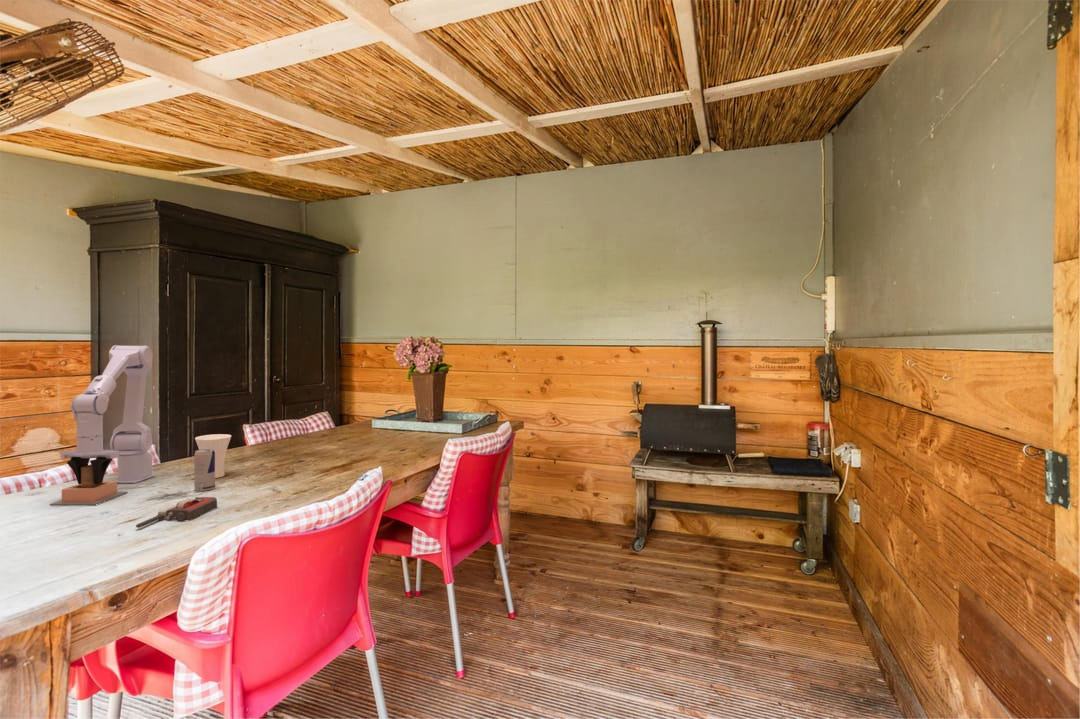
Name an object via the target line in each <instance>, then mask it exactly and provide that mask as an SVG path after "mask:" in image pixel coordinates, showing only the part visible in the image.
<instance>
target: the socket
mask: <svg viewBox="0 0 1080 719" xmlns="http://www.w3.org/2000/svg"><path fill="white" fill-rule="evenodd" d="M126 493H127V494H128V491H118V483H117V481H114V480H111V481H109V480H108V481H105V480H103V482H102V483H100V486H97V487H94V488H81V484H78V483H77V484H75V485H72V486H71V485H70V486H68V487H66V488H63V489H61V499H60V500H57V501H55V502H52V503H49V506H50V505H88V506H97V505H96V504H99V503H101V504H103V503H102V502H104V501H106V502H108V501H107V500H109V501H111V500H113V498H114V499H116V498H119V497H121V496H120V495H122V496H123V494H124V495H126ZM118 496H119V497H118ZM115 497H116V498H115ZM110 499H111V500H110ZM104 503H105V502H104ZM99 505H100V504H99Z"/></svg>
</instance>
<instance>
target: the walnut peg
mask: <svg viewBox="0 0 1080 719" xmlns="http://www.w3.org/2000/svg"><path fill="white" fill-rule="evenodd" d="M97 486H100V483H99V484H94V473H93V468H92V465H91V464H88V465H85V466H82V467H81V488H94V487H97Z"/></svg>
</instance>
